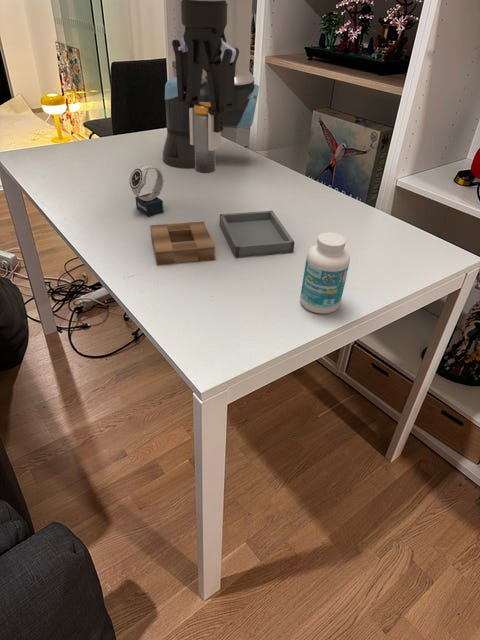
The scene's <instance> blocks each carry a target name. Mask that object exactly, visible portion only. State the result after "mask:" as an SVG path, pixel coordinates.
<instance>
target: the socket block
mask: <svg viewBox="0 0 480 640" xmlns="http://www.w3.org/2000/svg"><path fill="white" fill-rule="evenodd" d="M149 228H150V239H151V244H152V247H153V252H154V253H153V254H154V258H155V261H156V266H162V265H163V266H164V265H173V264H183V263H185V264H186V263H195V262H207V261H215V259H216V258H215V257H216V256H215V253H216V250H215V249H216V246H215V245H214V242H213V240H212V238H211V235H210V233H209V231H208V228H207V225H206V223H205V220H203V221H188V222H177V223H164V224H153V225H152V224H151V225H149Z"/></svg>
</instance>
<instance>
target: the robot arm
mask: <svg viewBox="0 0 480 640" xmlns="http://www.w3.org/2000/svg"><path fill="white" fill-rule="evenodd" d="M252 9H253V0H180V10H181V11H180V14H181V15H180V16H181V17H180V19H181V24H182V26H184V32H183V36H182V37H181V38H179V39H177V38H176V39H173V40H172V41H171V44H172V48H173V52H174V57H175V71H176V72H175V73H176V77H172V78H170V79H168V80H167V81H166V83H165V84H164V102H165V115H166V116H165V119H166V138H165V140H164V146H163V150H162V161H163V163H165V164H166V165H169V166H172V167H176V168H181V169H182V168H184V169H185V168H186V169H191V168H192V169H195V139H194V104H195V103H198V102H210V103H211V110H212V111H209V113H208V150H210V151H213V150H215V151H216V150H218V149H221V147H222V146H221V144H222V139H221V137H222V132H223V131H224V128H227V129H228V128H229V129H235V130H237V129H249V128H251V127H252V126H253V123H254V118H255V112H256V106H257V103H258V102H257V101H258V97H259V90H260V86H259V85H258V84H257V83H256V84H255V76H254V75H253V74H252V73H251V71H250V63H251V62H250V60H251V38H252V36H251V35H252V14H253V10H252ZM203 72H205V73H206V76H205V75H203Z"/></svg>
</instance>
